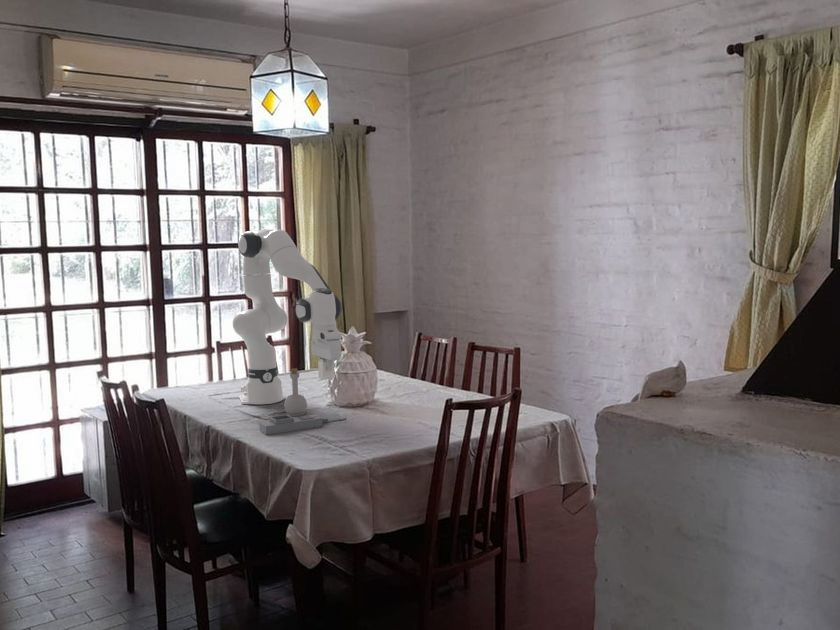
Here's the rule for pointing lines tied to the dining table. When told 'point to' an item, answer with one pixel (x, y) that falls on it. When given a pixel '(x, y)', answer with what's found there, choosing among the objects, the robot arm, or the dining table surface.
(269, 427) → the power strip
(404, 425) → the dining table surface
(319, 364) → the block
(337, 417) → the mat
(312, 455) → the dining table surface
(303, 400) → the potion bottle
